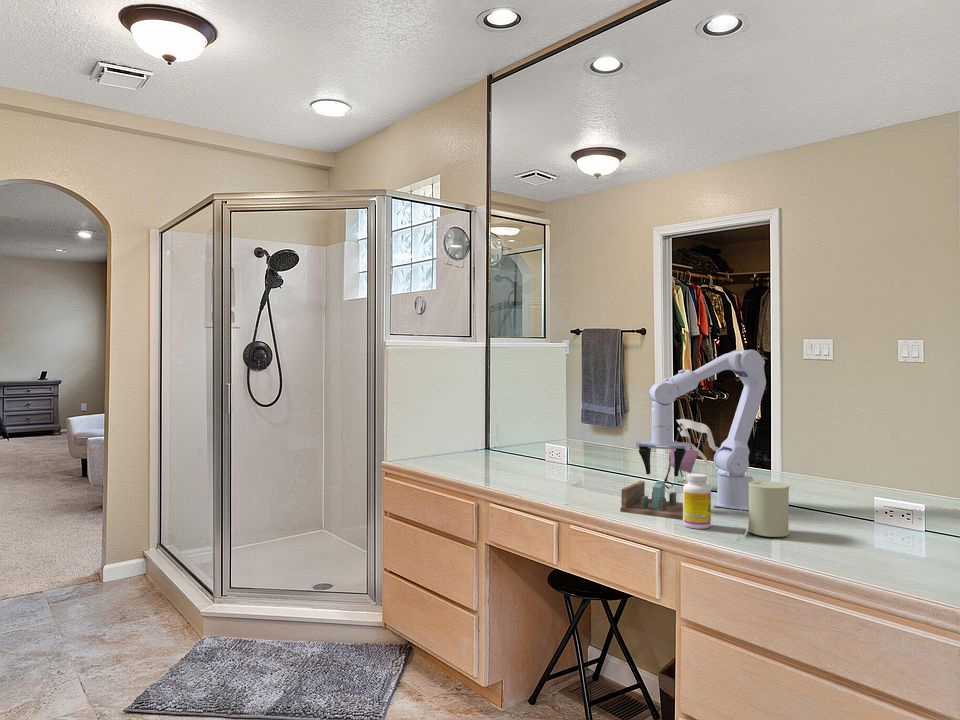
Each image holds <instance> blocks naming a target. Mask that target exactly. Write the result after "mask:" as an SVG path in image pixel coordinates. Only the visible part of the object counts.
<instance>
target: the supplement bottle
mask: <svg viewBox="0 0 960 720" xmlns="http://www.w3.org/2000/svg"><path fill="white" fill-rule="evenodd" d="M686 476H687V477H686V480H687V479H688V484H686V483H685V484H683V485H684V487H683V486H682V503H683V520H682V524H683V526H685V527H687V528H688V529H689V528H690V529H694V530H695V529H697V530H706V529H709V528H711V525H712V523H711V521H712V518H711V517H712V499H711V498H712V489H711V487H710V486H709V485H707V480H708V475H707V474H704V473H696V472H695V473H692V472H691V473H690V474H689V473H687V475H686Z"/></svg>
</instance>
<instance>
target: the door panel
mask: <svg viewBox="0 0 960 720" xmlns="http://www.w3.org/2000/svg"><path fill="white" fill-rule="evenodd" d="M665 485H666V483H665V481H664V480H656V482H655V483H654V485H653V486H652V492H653V509H656V510H659V499H661V498H666V488H665V487H666V486H665Z"/></svg>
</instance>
